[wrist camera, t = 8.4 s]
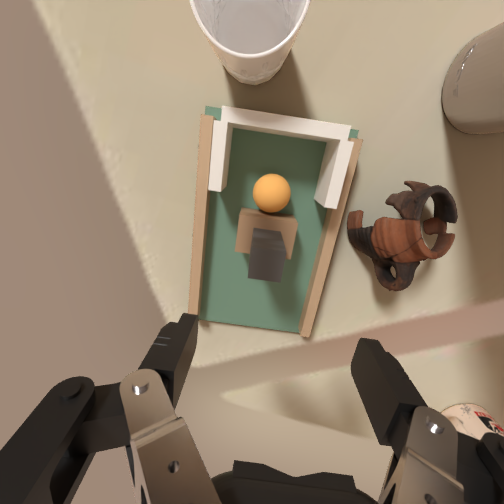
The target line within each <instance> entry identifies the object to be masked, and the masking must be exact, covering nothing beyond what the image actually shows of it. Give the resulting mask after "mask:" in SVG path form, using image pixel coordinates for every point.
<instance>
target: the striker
mask: <svg viewBox="0 0 504 504" xmlns="http://www.w3.org/2000/svg"><path fill="white" fill-rule="evenodd" d="M297 227H298V222H297V220H296V219H295V217H294V215H292V214H285V213H278V212H266V211H263V210H258V209H251V208H244V207H242V208H241V211H240V215H239V222H238V230H237V238H236V245H235V252H241V253H248V254H250V256H249V268H248V278H249V279H257V280H264V281H271V282H278V283H280V282H281V277H282V273H283V268H284V263H285V259H290V260H291V255H292V250H293V246H294V241H295V236H296V232H297Z"/></svg>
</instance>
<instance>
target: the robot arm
mask: <svg viewBox="0 0 504 504" xmlns="http://www.w3.org/2000/svg"><path fill="white" fill-rule="evenodd" d="M442 102H443V109H444V112H445V114H446V117H447V119H448V120H449V121H450V123H451V124H452V125H453V126H454V127H455V128H457V129H458V130H460V131H462V132H465V133H469V134H486V133H498V132H504V22H503V23H501V24H499V25H497V26H496V27H494V28H492V29H490V30H488V31H487V32H485V33H483V34H481V35H479V36H477V37H476V38H475V39H473V40H472V41H471V42H470V43H468V44H467V45H466V46H465V47H464V48H463V49H462V50H461V52H460V53H459V54H458V55H457V57H456V58H455V60H454V61H453V63H452V64H451V66H450V68H449V71H448V73H447V75H446V78H445V82H444V85H443V93H442ZM198 320H199V316H198V315H195V314H188V313H183V314H182V316H181V318H180V320H179V322H178V323H175V322H169V323H168V324H167V325H165V326H164V327H163V328H162V329H161V331H160V332H159V334H158V336H157V338H156V339H155V341H154V343H153V345H152V346H151V348H150V349H149V351H148V353H147V355H146V356H145V358H144V360H143V361H142V363H141V365H140V367H139V368H138V370H136V371H134V372H132V373H130V374H128V375H127V376H126V377H125V378H124V379H123V380H122V382H119V383H115V384H109V385H102V386H94V382H93V381H92V380H91V379H90V378H87V377H81V376H79V377H72V378H69V379H66V380H64V381H62V382H61V383H58V384H57V385H56V386H54V387H53V388H52V389H51V390H50V391H49V392H48V394H47V395H46V396H45V397H44V398H43V400H42V401H41V402H40V403H39V405H38V406H37V407H36V408H35V409H34V411H33V412H32V413H31V414H30V415H29V417H28V418H27V419H26V420H25V421H24V423H23V424H22V425H21V426H20V427H19V429H18V430H17V431H16V432H15V434H14V435H13V436H12V437H11V439H10V440H9V441H8V442H7V443H6V445H5V446H4V447H3V448H2V449H1V450H0V504H70V503H71V501H72V499H73V497H74V495H75V493H76V491H77V489H78V487H79V485H80V483H81V481H82V479H83V477H84V475H85V473H86V471H87V469H88V467H89V465H90V463H91V461H92V459H93V457H94V455H95V453H96V452H99V451H104V450H108V449H113V448H118V447H122V446H124V450H125V454H126V459H127V463H128V468H129V472H130V477H131V482H132V487H133V491H134V496H135V502H136V504H504V436H502V435H499V434H497V433H493V432H487V433H485V434H484V435H483V436H482V438H481V439H480V440H479V439H476V438H474V437H471V436H469V435H466V434H464V433H461V432H459V431H456V429H455V427H454V426H453V424H452V423H451V422H450V421H449V420H448V419H447V418H446V417H445V416H444V415H442V414H441V413H440V412H438V411H436V410H434V409H432V408H430V407H428V406H427V404H426V403H425V401H424V400H423V398H422V397H421V395H420V394H419V392H418V391H417V389H416V387H415V386H414V384H413V383H412V381H411V380H409V377H408V375H407V374H406V372H404V369H403V368H402V366H401V365H400V363H399V362H398V360H397V359H395V358H394V357H393V356H392V355H391V354H390V353H389V352H385V350H384V349H383V347H382V346H381V344H380V342H379V341H378V340H374V339H367V338H360V340H359V342H358V344H357V347H356V350H355V353H354V356H353V359H352V362H351V374H352V377H353V379H354V382H355V384H356V387H357V389H358V392H359V394H360V397H361V399H362V402H363V404H364V407H365V409H366V412H367V414H368V417H369V419H370V422H371V424H372V427H373V429H374V432H375V434H376V437H377V439H378V442H379V444H380V445H386V446H392V449H393V451H394V452H393V454H392V456H391V459H390V462H389V466H388V469H387V473H386V477H385V480H384V483H383V487H382V490H381V494H380V497H379V500H378V502H377V501H375V500H374V499H373V498H371V497H370V496H369V495H367V494H366V493H364V492H362V491H360V490H359V489H356V487H355V483H354V479H353V476H349V475H342V474H335V473H327V472H321V473H316V474H310V475H305V476H300V477H292V476H290V475H287V474H285V473H283V472H280V471H278V470H276V469H273V468H271V467H269V466H267V465H264V464H259V463H251V462H243V461H236V460H234V464H233V470H232V471H229V472H225V473H222V474H219V475H217V476H215V477H213V478H212V479H211V478H210V477H209V474H208V472H207V469H206V467H205V465H204V463H203V460H202V458H201V456H200V454H199V451H198V449H197V447H196V444H195V442H194V440H193V438H192V435H191V433H190V431H189V429H188V426H187V424H186V422H185V420H184V419H183V418H182V417H179V418H178V417H177V415H176V414H175V408H176V405H177V402H178V399H179V397H180V394H181V390H182V388H183V385H184V382H185V379H186V376H187V373H188V370H189V368H190V365H191V362H192V359H193V356H194V353H195V349H196V344H197V334H198Z"/></svg>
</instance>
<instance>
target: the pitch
mask: <svg viewBox="0 0 504 504" xmlns="http://www.w3.org/2000/svg"><path fill="white" fill-rule="evenodd" d="M358 131H359V130H354V129H351V126H349V125H343V124H336V123H330V122H324V121H317V120H311V119H305V118H298V117H292V116H286V115H279V114H273V113H267V112H261V111H254V110H248V109H242V108H235V107H229V106H223V105H222V109H221V108H215V107H209V106H206V109H205V115H204V114H201V120H200V136H199V151H198V166H197V182H196V197H195V212H194V228H193V243H192V259H191V274H190V289H189V305H188V314H195V315H198V316H199V319H200V320H207V321H215V322H222V323H229V324H237V325H244V326H252V327H259V328H267V329H274V330H282V331H289V332H297V333H300V336H303V337H310V333H311V329H312V326H313V322H314V318H315V315H316V311H317V307H318V304H319V300H320V296H321V293H322V289H323V285H324V282H325V278H326V274H327V271H328V267H329V263H330V260H331V256H332V252H333V249H334V245H335V241H336V237H337V234H338V230H339V226H340V223H341V219H342V215H343V212H344V208H345V204H346V201H347V197H348V193H349V190H350V186H351V182H352V179H353V175H354V171H355V168H356V164H357V160H358V157H359V153H360V149H361V146H362V142H363V139H357V135H358ZM267 174H277V175H280V176H282V177H283V178H284V179H285V180H286V181H287V182H288V184H289V186H290V190H291V195H290V199H289V202H288V203H287V205H286V206H285V207H284V208H283V209H281V210H280V211H277V212H278V213H285V214H292V215H294V217H295V219H296V220H297V222H298V227H297V232H296V236H295V241H294V246H293V250H292V255H291V260H290V259H285V263H284V268H283V273H282V277H281V282H280V283H278V282H271V281H264V280H257V279H249V278H248V268H249V256H250V254H248V253H241V252H235V245H236V238H237V230H238V222H239V215H240V211H241V208H242V207H244V208H251V209H258V210H261V209H260V208H259V207H258V206H257V205H256V203H255V201H254V199H253V188H254V185H255V183H256V182H257V181H258V179H260V178H261V177H262V176H264V175H267Z"/></svg>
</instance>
